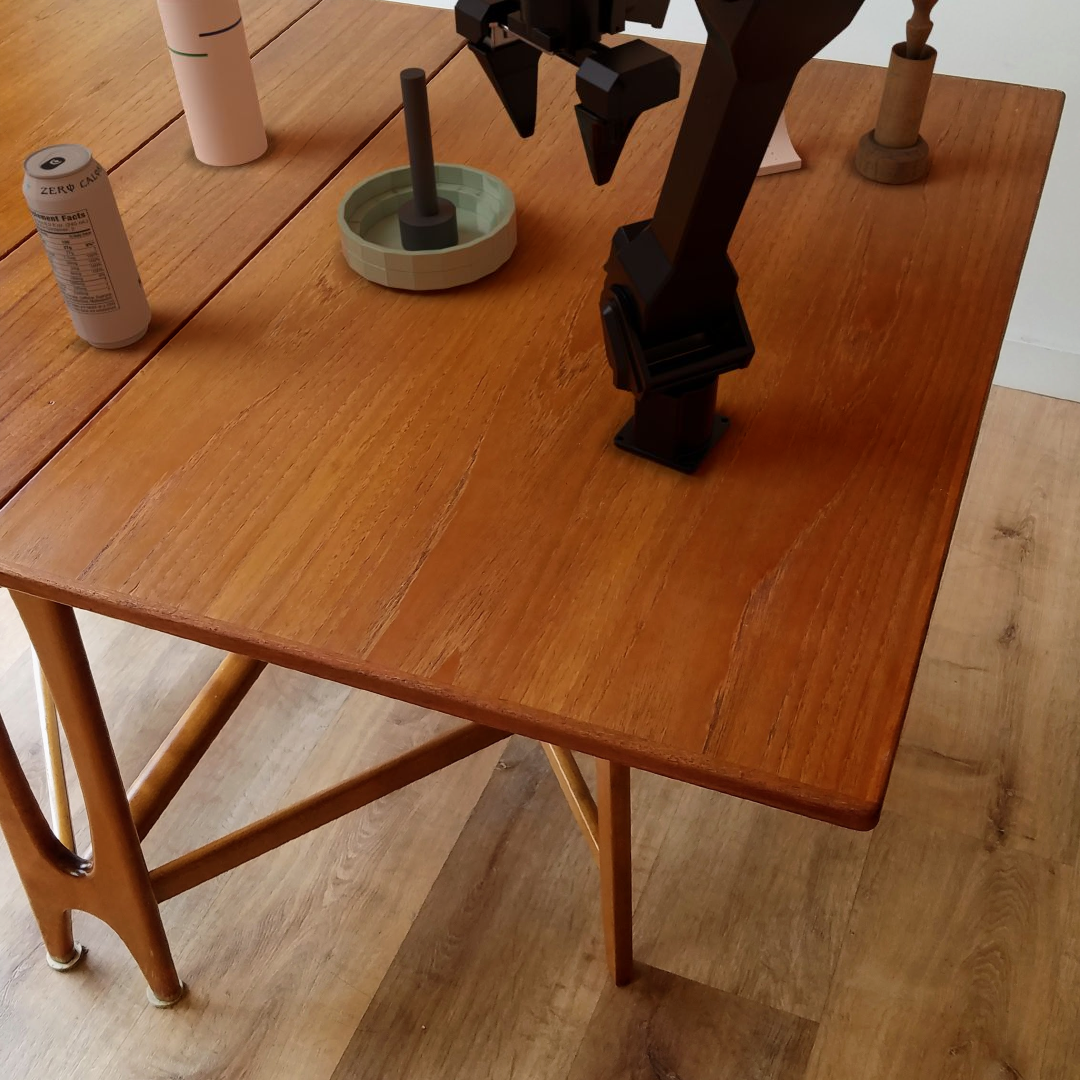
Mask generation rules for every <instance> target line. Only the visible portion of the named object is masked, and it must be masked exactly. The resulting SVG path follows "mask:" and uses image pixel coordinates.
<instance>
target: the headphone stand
mask: <svg viewBox="0 0 1080 1080" xmlns="http://www.w3.org/2000/svg"><path fill="white" fill-rule="evenodd" d="M785 116H786V115H785V108H784V109H783V111H782V114H781V116H780V119H779V121H778V124H777V126H776V128H775V131H774V133H773V136H772V138H771V141H770V143H769V146H768V148H767V151H766V153H765V156H764V158H763V161H762V163H761V166H760V168H759V171H758V173H757V176H756V177H760V176H761V177H762V176H765V175H771V174H775V173H783V172H788V171H792V170H798V169H801V167H802V159H801V158H800V156H799V155H798V154H797V152H796V151H795V148H794V146H793V143H792V142H791V139H790V136H789V133H788V128H787V124H786V117H785Z"/></svg>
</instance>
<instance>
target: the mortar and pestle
mask: <svg viewBox="0 0 1080 1080" xmlns="http://www.w3.org/2000/svg"><path fill="white" fill-rule="evenodd" d="M939 1H940V0H911V3H912V5H913V12H912V15H911V17H910V18H908V19H907V21H906V23H905V39H906V41H905V40H904V41H903V40H902V41H899V42H897V43H895V44H893V45H892V47H891V50H890V56H889V61H888V67H887V72H886V77H885V82H884V86H883V91H882V96H881V101H880V105H879V110H878V115H877V118H876V119H877V120H876V124H875V127H874V128H873V129H871V130H870V131H868V132H866V133H864V134H863V135H862V136H861V137H860V139H859V141H858V145H857V150H856V154H855V159H854V166H855V169H856V170H857V171H858V173H859V174H861V175H862V176H864V177H865V178H867V179H869V180H872V181H874V182H879V183H883V184H890V185H902V184H903V185H904V184H908V183H912V182H914V181H916V180H918V179H920V178H921V177H922V176H923V174H924V172H925V171H926V166H927V161H928V157H929V154H930V146H929V143H928V142H927V140H926V139H925V138H924V137H923V136H922V135H921V134H920V129H921V124H922V120H923V117H924V116H923V115H924V112H925V108H926V104H927V99H928V95H929V91H930V87H931V82H932V78H933V74H934V70H935V66H936V62H937V58H938V51H937V49H936V48H935V47H933V46H932V45H930V44H928V43H927V41H928V39H929V38H930V36H931V33H932V31H933V28H934V22H933V20H931V13H932V10H933V8H934V7H935V6H936V4H937V3H938V2H939Z"/></svg>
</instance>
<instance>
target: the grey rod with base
mask: <svg viewBox="0 0 1080 1080" xmlns="http://www.w3.org/2000/svg"><path fill="white" fill-rule="evenodd" d="M399 79H400V89H401V96H402V97H401V98H402V107H403V116H404V124H405V132H406V133H405V135H406V142H407V149H408V158H409V165H410V169H411V178H412V187H413V196H414V199H411V200H409V201H407V202H405V203H404V204H403V205H401V207H400V208H399V210H398V219H399V227H400V235H401V243H402V246H403V248H404V249H405V250H406V251H426V250H441V249H445V248H449V247H454V246H456V245H457V244H458V240H459V239H458V227H457V215H456V207H455V205H454V204H453V203H452V202H451V201H450V200H448V199H445V198H442V197H437V189H436V178H435V168H434V163H435V157H434V149H433V138H432V127H431V117H430V107H429V97H428V87H427V85H428V84H427V76H426V71H425V69H422V68H420V67H408V68H405V69H402V70H401V71H400V72H399Z"/></svg>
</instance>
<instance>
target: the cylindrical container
mask: <svg viewBox="0 0 1080 1080" xmlns="http://www.w3.org/2000/svg"><path fill="white" fill-rule="evenodd" d="M156 4H157V9H158V12H159V15H160V20H161V25H162V28H163V32H164V35H165V40H166V43H167V47H168V48H167V49H168V51H169V55H170V59H171V63H172V67H173V71H174V75H175V79H176V83H177V87H178V91H179V95H180V99H181V102H182V107H183V110H184V114H185V118H186V122H187V123H186V124H187V126H188V130H189V135H190V138H191V143H192V147H193V150H194V154H195V157H196V158H197V160H199V161H200V162H201V163H203V164H206V165H209V166H213V167H233V166H240V165H243V164H247V163H250V162H252V161H255V160H256V159H258V158H259V157H261V156H263V155H264V153H266V151H267V149H268V147H269V146H268V140H267V135H266V129H265V126H264V120H263V116H262V115H263V114H262V110H261V105H260V100H259V95H258V90H257V85H256V81H255V77H254V76H255V75H254V70H253V67H252V62H251V57H250V51H249V47H248V41H247V37H246V32H245V28H244V21H243V17H242V11H241V7H240V3H239V0H156Z"/></svg>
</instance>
